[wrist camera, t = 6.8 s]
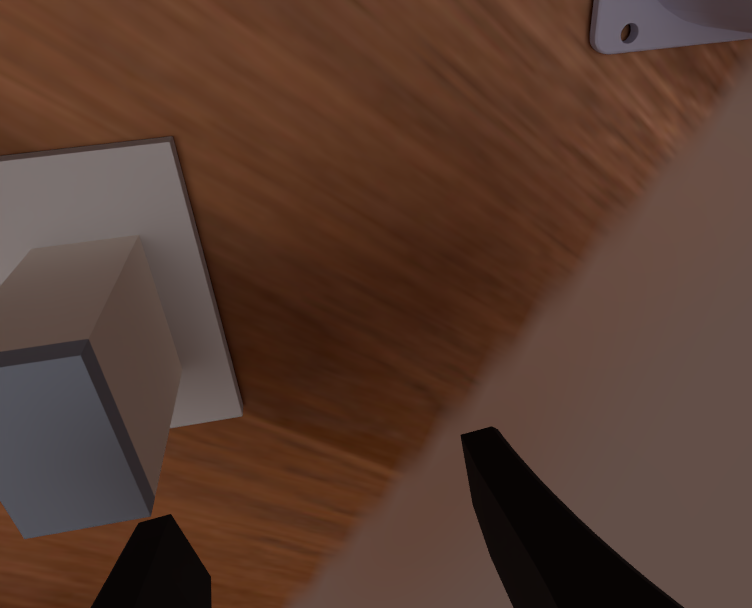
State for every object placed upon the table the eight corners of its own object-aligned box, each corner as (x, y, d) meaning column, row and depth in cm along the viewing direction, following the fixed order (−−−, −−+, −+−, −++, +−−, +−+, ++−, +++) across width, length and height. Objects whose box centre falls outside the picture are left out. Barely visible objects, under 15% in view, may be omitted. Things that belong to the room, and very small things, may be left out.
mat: (172, 136, 16) (169, 141, 15) (243, 405, 21) (242, 416, 21) (-300, 190, 15) (-320, 198, 14) (-100, 461, 20) (-111, 474, 19)
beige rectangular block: (138, 234, 16) (80, 354, 11) (182, 369, 19) (151, 516, 14) (31, 248, 16) (-78, 379, 11) (90, 383, 19) (24, 539, 14)
